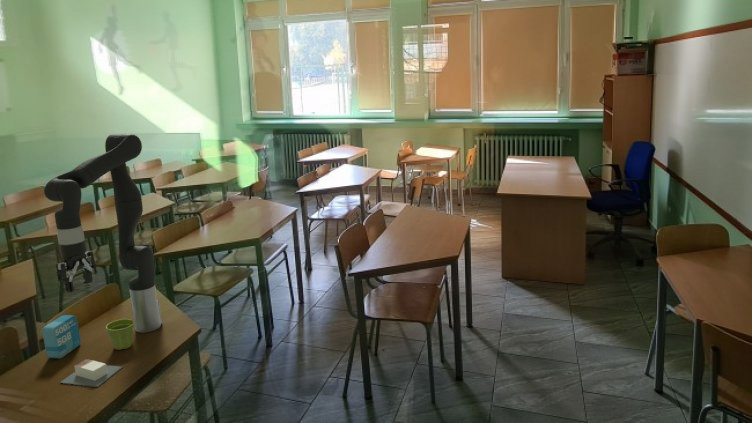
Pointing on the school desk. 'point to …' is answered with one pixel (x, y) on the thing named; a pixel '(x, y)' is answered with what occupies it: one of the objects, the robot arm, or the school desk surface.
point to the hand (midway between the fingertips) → (80, 287)
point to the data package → (61, 336)
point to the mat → (87, 382)
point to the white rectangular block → (91, 369)
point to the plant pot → (121, 333)
